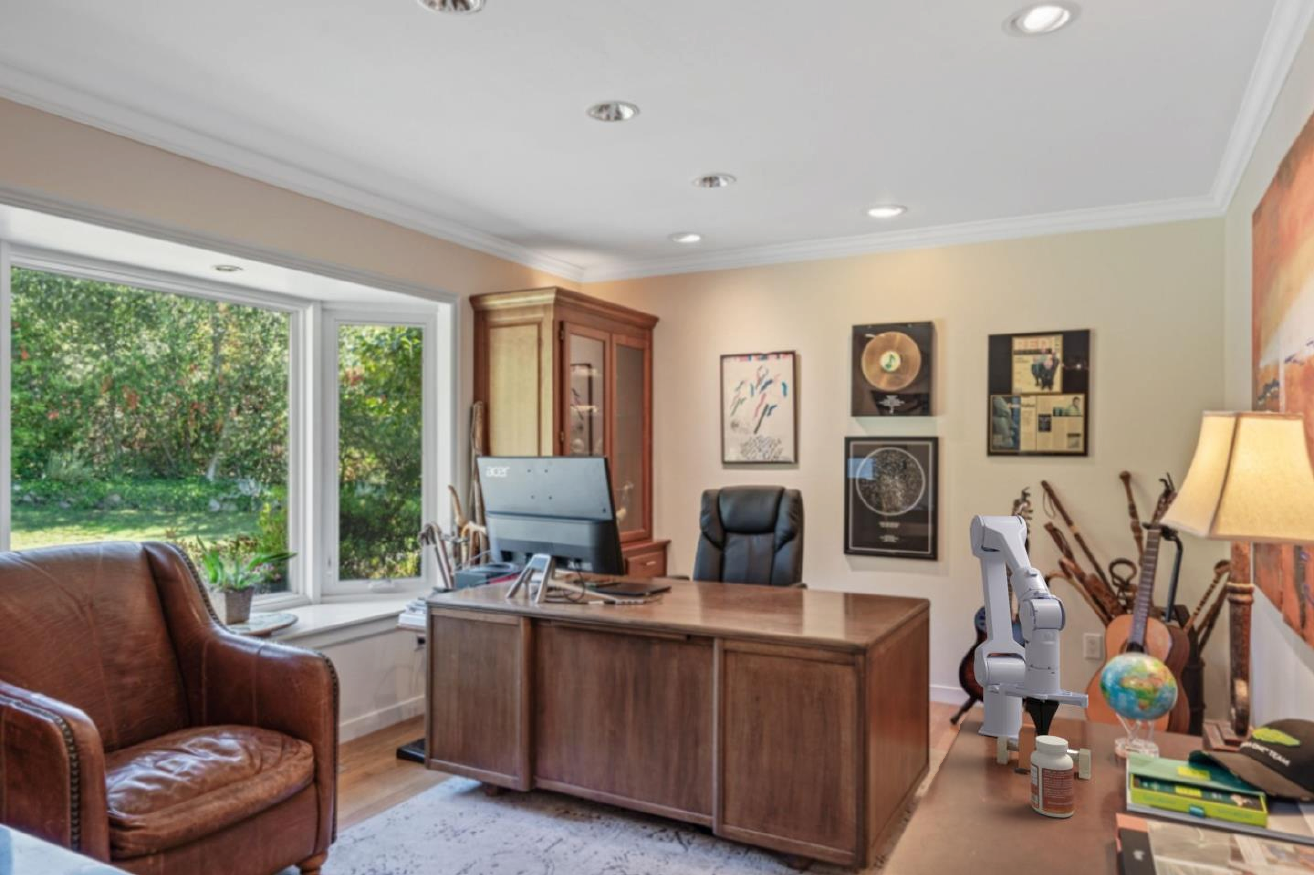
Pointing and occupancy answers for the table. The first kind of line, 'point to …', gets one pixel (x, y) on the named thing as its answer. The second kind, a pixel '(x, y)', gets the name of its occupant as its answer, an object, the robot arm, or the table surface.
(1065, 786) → the pill bottle
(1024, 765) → the upright terracotta block
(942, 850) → the table surface
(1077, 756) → the pipe rail
